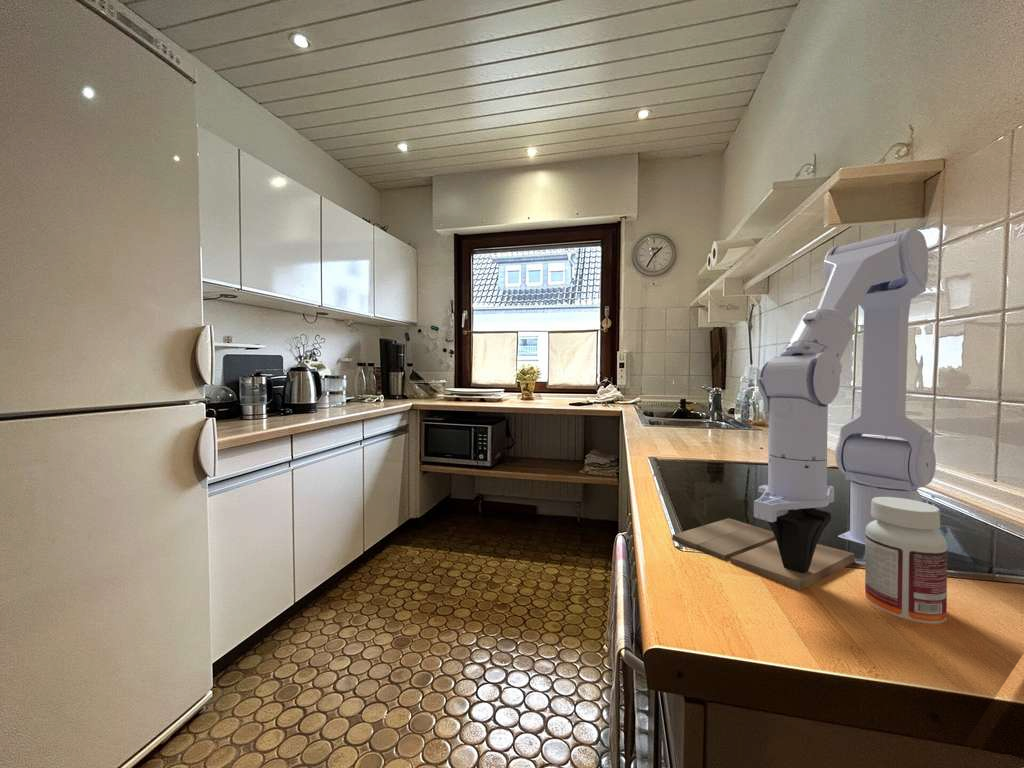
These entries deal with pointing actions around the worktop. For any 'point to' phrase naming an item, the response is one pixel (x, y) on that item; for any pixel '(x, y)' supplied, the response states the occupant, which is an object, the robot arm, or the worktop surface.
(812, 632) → the worktop surface
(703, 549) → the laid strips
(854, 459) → the robot arm
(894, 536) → the pill bottle
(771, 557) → the plank
